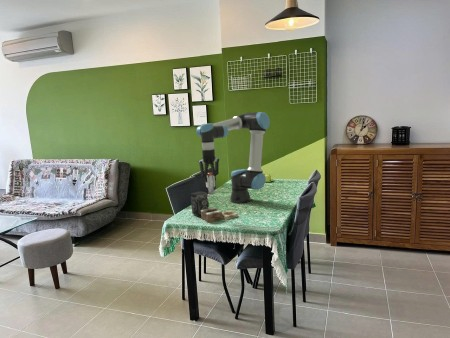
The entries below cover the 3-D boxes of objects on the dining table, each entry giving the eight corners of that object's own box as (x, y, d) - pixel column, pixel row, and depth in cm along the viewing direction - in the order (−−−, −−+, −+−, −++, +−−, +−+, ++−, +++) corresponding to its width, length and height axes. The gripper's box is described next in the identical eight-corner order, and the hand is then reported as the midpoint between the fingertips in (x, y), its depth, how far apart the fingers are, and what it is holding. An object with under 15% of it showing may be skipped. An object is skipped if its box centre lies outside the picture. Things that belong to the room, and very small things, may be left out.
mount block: (231, 213, 223) (231, 210, 223) (238, 216, 215) (238, 213, 215) (219, 216, 219) (218, 213, 219) (225, 219, 211) (225, 216, 211)
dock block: (215, 215, 220) (214, 207, 219) (222, 219, 212) (221, 210, 211) (201, 218, 216) (200, 210, 215) (208, 222, 207) (207, 214, 206)
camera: (199, 218, 216) (197, 196, 213) (190, 215, 224) (188, 193, 222) (212, 215, 222) (210, 192, 219) (203, 211, 230) (202, 190, 228)
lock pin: (212, 193, 213) (211, 172, 211) (214, 194, 210) (213, 173, 208) (207, 193, 211) (206, 173, 209) (209, 195, 208) (208, 173, 206)
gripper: (217, 147, 213) (219, 183, 217) (193, 150, 205) (196, 187, 209) (223, 148, 207) (225, 185, 211) (198, 151, 199) (201, 189, 203)
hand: (210, 186), depth 210 cm, fingers closed on lock pin, 3 cm apart
